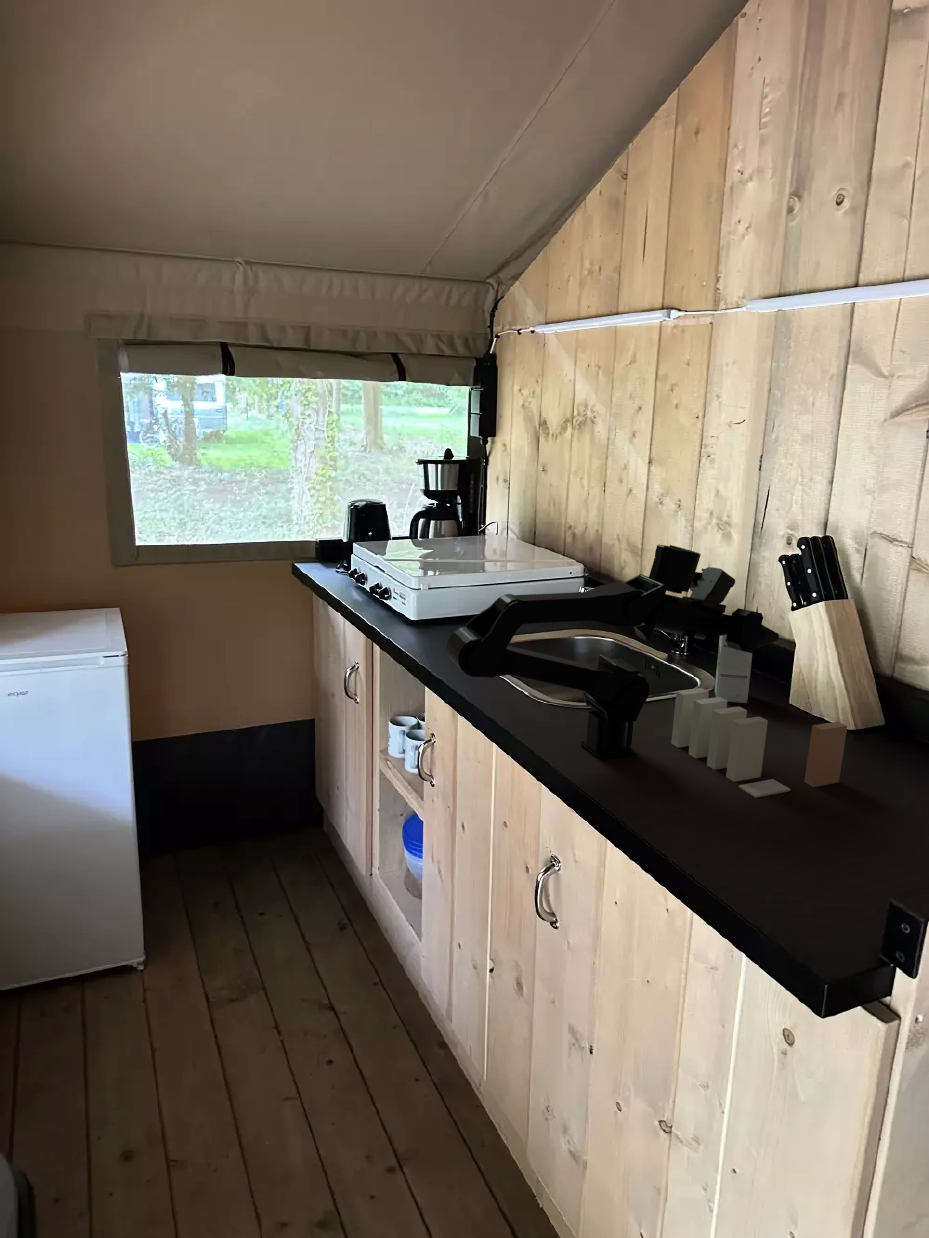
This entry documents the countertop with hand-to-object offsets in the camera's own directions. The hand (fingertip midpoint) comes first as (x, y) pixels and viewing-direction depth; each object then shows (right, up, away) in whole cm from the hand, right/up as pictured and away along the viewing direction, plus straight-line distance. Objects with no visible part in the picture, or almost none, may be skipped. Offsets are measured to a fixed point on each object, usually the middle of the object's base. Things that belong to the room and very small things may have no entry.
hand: (759, 632), depth 147 cm
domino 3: (-8, -20, -7) cm, 23 cm away
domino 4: (-6, -21, -11) cm, 25 cm away
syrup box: (+2, -13, +24) cm, 27 cm away
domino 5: (+5, -22, -12) cm, 26 cm away
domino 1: (-11, -18, +1) cm, 21 cm away
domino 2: (-10, -19, -3) cm, 22 cm away
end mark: (-4, -22, -15) cm, 27 cm away
